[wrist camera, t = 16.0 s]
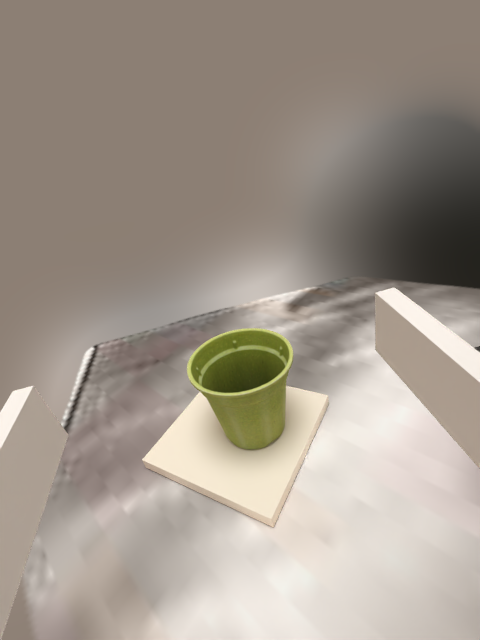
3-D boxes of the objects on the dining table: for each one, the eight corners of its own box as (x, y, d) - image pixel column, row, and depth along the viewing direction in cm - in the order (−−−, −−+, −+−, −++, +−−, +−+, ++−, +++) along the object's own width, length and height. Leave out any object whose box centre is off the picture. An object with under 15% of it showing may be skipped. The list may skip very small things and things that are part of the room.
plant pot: (218, 393, 40) (200, 331, 35) (301, 390, 38) (293, 323, 33) (199, 465, 32) (173, 397, 28) (302, 466, 30) (292, 392, 26)
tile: (328, 403, 37) (328, 395, 36) (273, 527, 27) (271, 519, 27) (220, 377, 44) (218, 369, 44) (146, 467, 34) (142, 460, 34)
